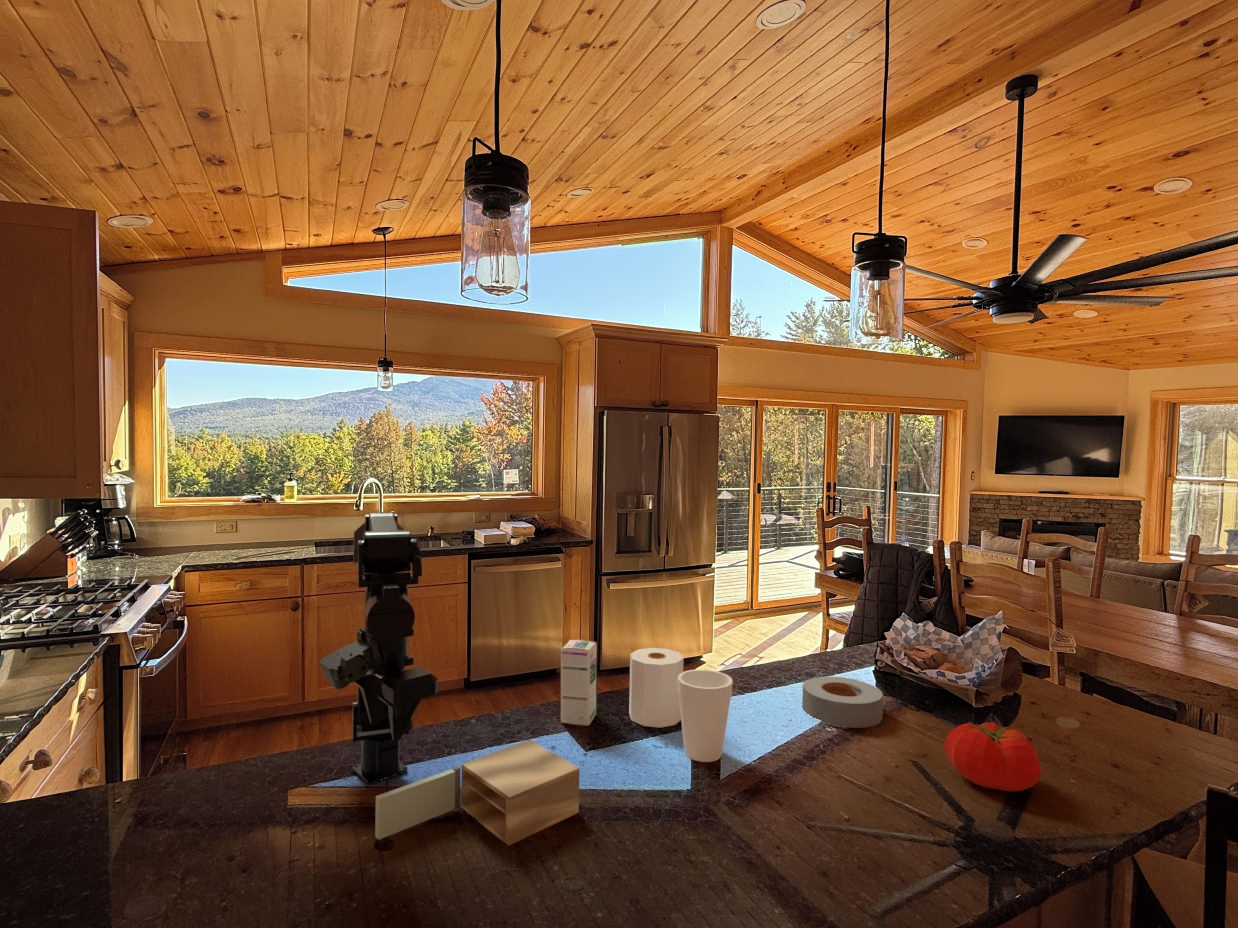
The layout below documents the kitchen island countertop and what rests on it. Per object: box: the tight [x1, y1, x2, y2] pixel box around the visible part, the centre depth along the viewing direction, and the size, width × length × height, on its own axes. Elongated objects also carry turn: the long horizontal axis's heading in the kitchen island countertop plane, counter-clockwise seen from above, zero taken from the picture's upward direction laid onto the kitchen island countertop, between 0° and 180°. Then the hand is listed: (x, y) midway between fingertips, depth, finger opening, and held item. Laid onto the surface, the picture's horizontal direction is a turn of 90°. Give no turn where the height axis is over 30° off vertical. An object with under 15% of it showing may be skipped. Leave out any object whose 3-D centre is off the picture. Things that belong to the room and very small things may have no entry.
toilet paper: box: [628, 647, 684, 729], centre depth 131 cm, size 10×10×12 cm
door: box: [374, 766, 461, 841], centre depth 93 cm, size 12×1×6 cm, turn 134°
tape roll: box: [801, 676, 884, 727], centre depth 135 cm, size 15×15×5 cm
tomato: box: [944, 722, 1042, 792], centre depth 108 cm, size 14×13×9 cm
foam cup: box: [677, 669, 733, 763], centre depth 116 cm, size 10×9×13 cm
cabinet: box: [460, 739, 580, 847], centre depth 97 cm, size 12×12×6 cm
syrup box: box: [560, 639, 598, 727], centre depth 129 cm, size 6×6×14 cm
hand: (385, 731), depth 94 cm, fingers open, 7 cm apart
